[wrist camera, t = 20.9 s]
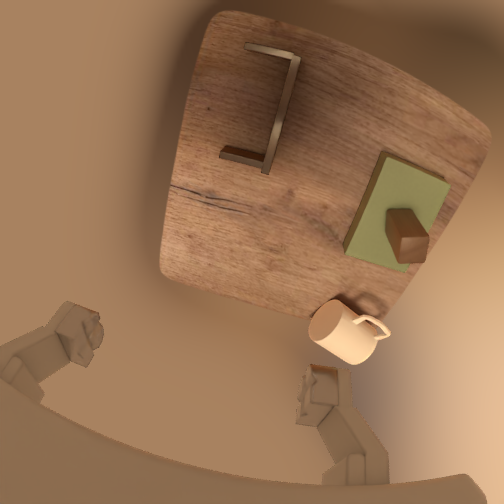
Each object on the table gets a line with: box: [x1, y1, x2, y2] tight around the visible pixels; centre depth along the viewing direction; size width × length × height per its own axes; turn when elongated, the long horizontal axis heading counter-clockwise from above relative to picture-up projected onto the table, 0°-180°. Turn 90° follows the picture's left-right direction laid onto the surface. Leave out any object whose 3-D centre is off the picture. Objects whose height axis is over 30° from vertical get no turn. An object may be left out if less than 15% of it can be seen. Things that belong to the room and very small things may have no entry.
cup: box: [308, 300, 391, 365], centre depth 51 cm, size 8×12×10 cm
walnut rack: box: [219, 42, 301, 175], centre depth 35 cm, size 16×7×6 cm, turn 167°
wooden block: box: [385, 209, 429, 264], centre depth 37 cm, size 4×4×8 cm
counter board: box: [343, 151, 451, 273], centre depth 41 cm, size 16×11×3 cm
